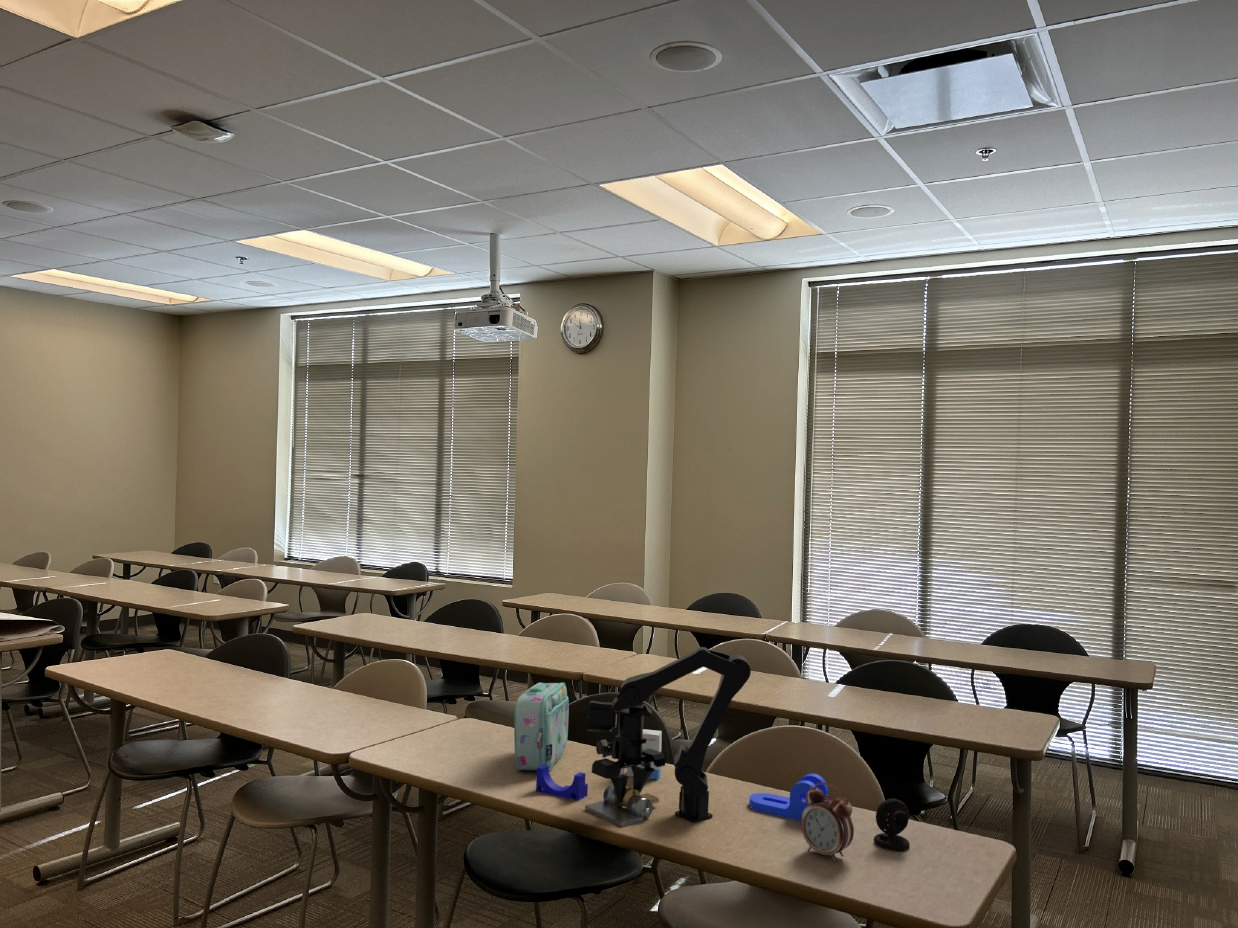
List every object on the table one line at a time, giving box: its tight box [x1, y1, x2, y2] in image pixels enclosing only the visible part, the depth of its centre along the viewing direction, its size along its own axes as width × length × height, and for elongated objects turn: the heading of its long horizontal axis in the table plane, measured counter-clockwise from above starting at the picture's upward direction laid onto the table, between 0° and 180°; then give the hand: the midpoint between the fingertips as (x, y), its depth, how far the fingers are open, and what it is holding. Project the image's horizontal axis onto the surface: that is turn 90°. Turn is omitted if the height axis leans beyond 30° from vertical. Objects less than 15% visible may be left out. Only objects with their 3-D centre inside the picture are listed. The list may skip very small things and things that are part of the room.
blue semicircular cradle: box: [535, 765, 589, 802], centre depth 215 cm, size 12×4×6 cm, turn 64°
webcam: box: [873, 798, 911, 852], centre depth 192 cm, size 8×8×10 cm
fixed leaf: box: [584, 784, 654, 828], centre depth 203 cm, size 14×10×4 cm
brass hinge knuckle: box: [615, 785, 660, 809], centre depth 207 cm, size 4×10×4 cm, turn 131°
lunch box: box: [513, 682, 569, 772], centre depth 239 cm, size 27×10×21 cm, turn 171°
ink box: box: [625, 728, 663, 781], centre depth 231 cm, size 9×5×12 cm, turn 76°
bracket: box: [748, 773, 829, 822], centre depth 210 cm, size 18×8×9 cm, turn 62°
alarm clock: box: [800, 782, 855, 863], centre depth 184 cm, size 11×5×15 cm, turn 45°
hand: (627, 799), depth 205 cm, fingers closed on brass hinge knuckle, 4 cm apart
